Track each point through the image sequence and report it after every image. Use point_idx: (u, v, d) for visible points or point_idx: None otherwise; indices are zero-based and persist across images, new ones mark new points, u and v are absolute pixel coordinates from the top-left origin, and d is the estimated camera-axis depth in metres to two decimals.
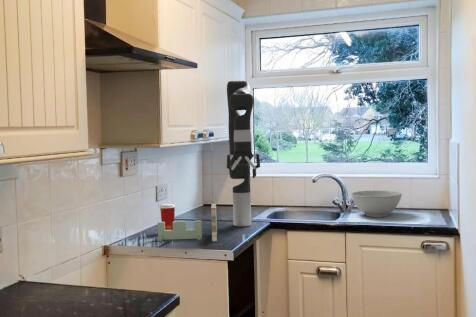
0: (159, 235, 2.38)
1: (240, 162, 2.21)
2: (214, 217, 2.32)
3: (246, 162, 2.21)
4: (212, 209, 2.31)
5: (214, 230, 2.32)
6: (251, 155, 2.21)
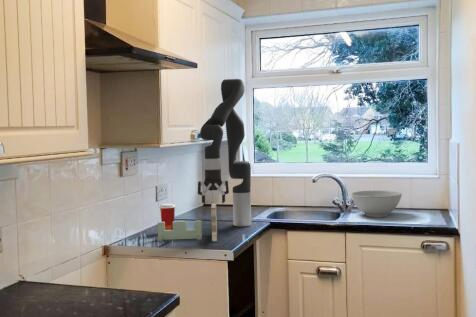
0: (159, 235, 2.38)
1: (210, 188, 2.38)
2: (214, 217, 2.32)
3: (216, 188, 2.38)
4: (212, 209, 2.31)
5: (214, 230, 2.32)
6: (220, 182, 2.38)
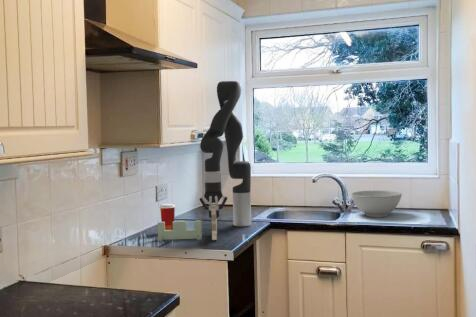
0: (159, 235, 2.38)
1: (213, 200, 2.38)
2: (214, 216, 2.32)
3: (213, 200, 2.38)
4: (212, 208, 2.31)
5: (214, 229, 2.32)
6: (221, 195, 2.38)
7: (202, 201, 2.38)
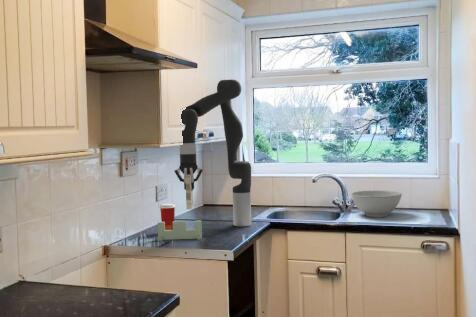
0: (159, 235, 2.38)
1: (188, 172, 2.37)
2: (188, 185, 2.30)
3: (188, 172, 2.37)
4: (186, 177, 2.30)
5: (188, 198, 2.31)
6: (196, 167, 2.37)
7: (177, 173, 2.37)
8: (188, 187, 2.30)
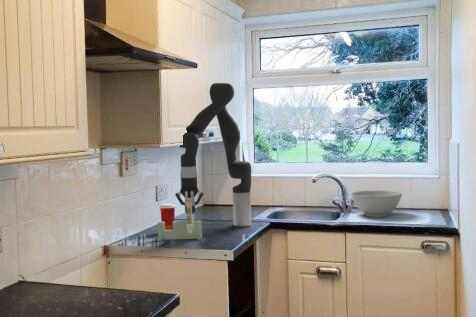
0: (159, 235, 2.38)
1: (189, 196, 2.38)
2: (189, 209, 2.31)
3: (189, 196, 2.38)
4: (187, 201, 2.31)
5: (189, 222, 2.31)
6: (196, 190, 2.38)
7: (178, 196, 2.37)
8: (189, 211, 2.31)
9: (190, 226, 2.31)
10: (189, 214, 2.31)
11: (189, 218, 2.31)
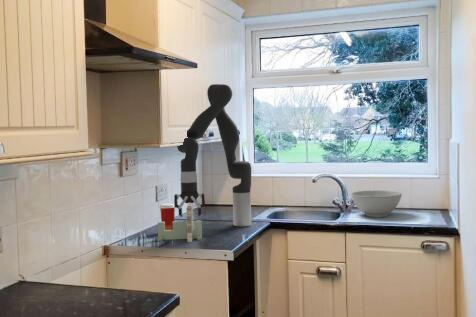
0: (159, 235, 2.38)
1: (186, 201, 2.38)
2: (189, 218, 2.31)
3: (192, 201, 2.38)
4: (187, 210, 2.31)
5: (189, 231, 2.32)
6: (197, 195, 2.38)
7: (176, 198, 2.37)
8: (189, 220, 2.31)
9: (190, 235, 2.32)
10: (189, 223, 2.31)
11: (189, 227, 2.32)
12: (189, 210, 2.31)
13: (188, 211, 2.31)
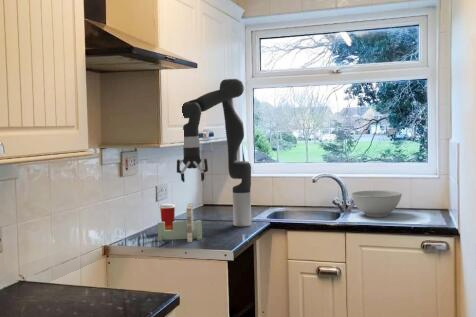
0: (159, 235, 2.38)
1: (189, 166, 2.37)
2: (189, 218, 2.31)
3: (195, 166, 2.38)
4: (187, 210, 2.31)
5: (189, 231, 2.32)
6: (199, 160, 2.37)
7: (178, 163, 2.37)
8: (189, 220, 2.31)
9: (190, 235, 2.32)
10: (189, 223, 2.31)
11: (189, 227, 2.32)
12: (189, 210, 2.31)
13: (188, 211, 2.31)
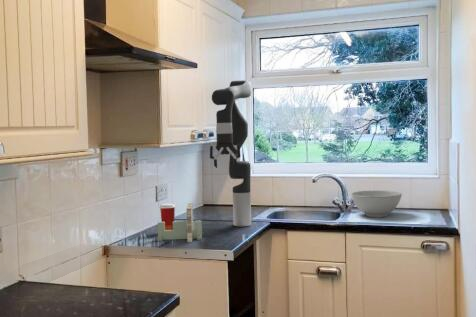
0: (159, 235, 2.38)
1: (222, 152, 2.41)
2: (189, 218, 2.31)
3: (227, 152, 2.41)
4: (187, 210, 2.31)
5: (189, 231, 2.32)
6: (232, 146, 2.41)
7: (211, 149, 2.41)
8: (189, 220, 2.31)
9: (190, 235, 2.32)
10: (189, 223, 2.31)
11: (189, 227, 2.32)
12: (189, 210, 2.31)
13: (188, 211, 2.31)
